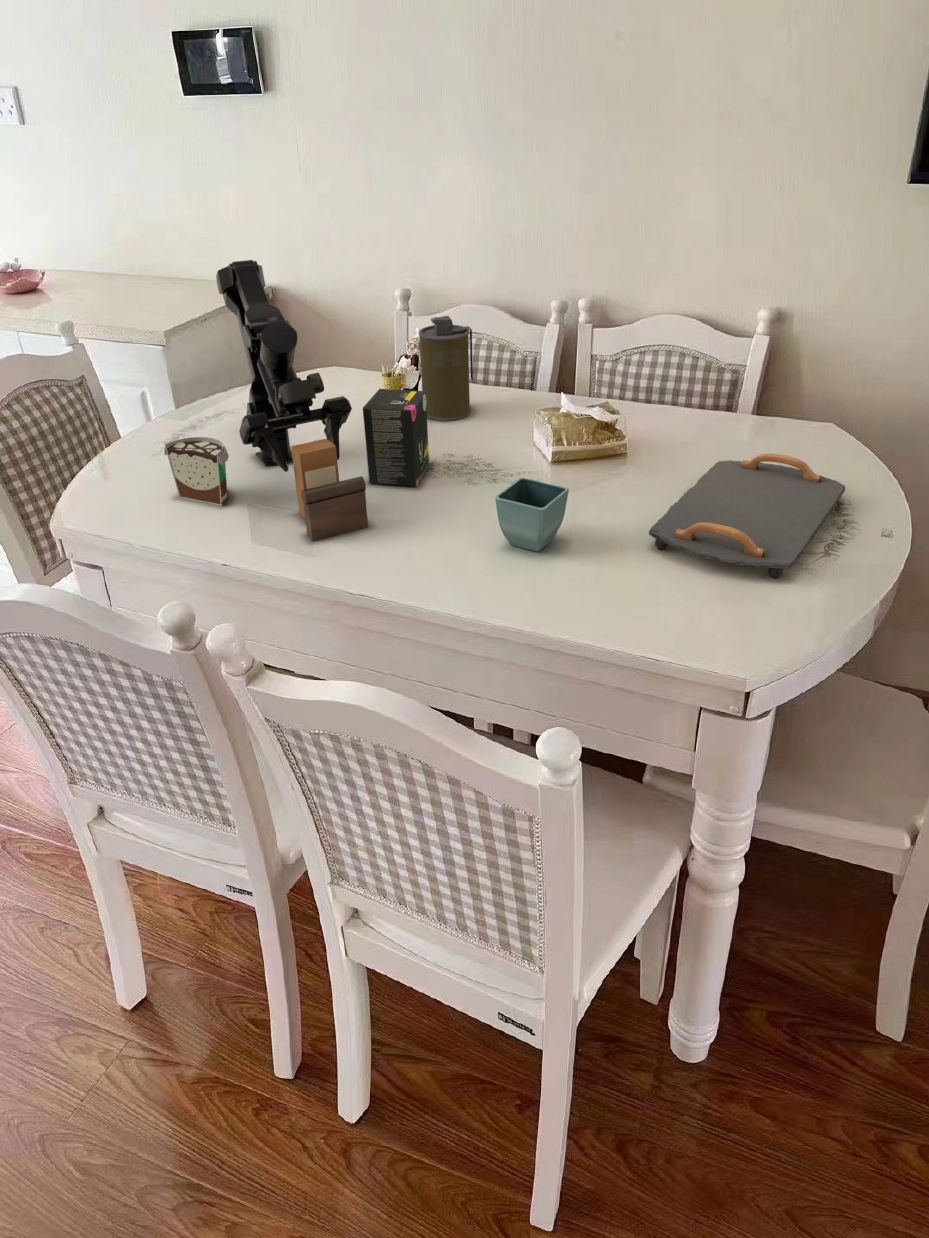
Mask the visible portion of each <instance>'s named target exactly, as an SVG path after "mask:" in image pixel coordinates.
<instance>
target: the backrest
mask: <svg viewBox="0 0 929 1238" xmlns="http://www.w3.org/2000/svg"><path fill="white" fill-rule="evenodd" d="M365 480H366V479H365V478H364V477H363V476H355V477H353V478H349V479H344V480H339V482H335V483H331V484H327V485H323V486H319V487H314V488H310V489H306V490H302V491H301V497H302V501H303V505H304V513H305V519H304V521H305V528H306V535H307V537H308V538H309V539H310V541H312V542H316V541H320V540H324V539H327V538H331V537H335V536H338V535H343V534H346V533H350V532H354V531H358V530H361V529H365V528H368V527H369V518H368V508H367V506H368V505H367V497H366V490H367V483H366V481H365Z"/></svg>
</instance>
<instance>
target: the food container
mask: <svg viewBox="0 0 929 1238" xmlns="http://www.w3.org/2000/svg"><path fill="white" fill-rule="evenodd" d="M163 451H164V452H163V453H164V456H167V459H168V462H169V466H170V470H171V473H172V477H173V480H174V482H175V483H174V484H175V487H176V491H177V494H178V498H179V499H185V500H189V501H193V502H194V501H195V502H199V503H204V504H208V505H214V506H218V507H223V506H224V505H225V504H226V503H227V501H228V500H229V498H228V484H227V467H226V463H227V461H228V460H229V456H230V455H229V452H228V450H227V448H226V446H225V445H224V443H223V442H222V441H221V440H219V439H217V438H214V437H207V436H191V437H185V438H184V437H183V438H179V439H176V440H172V441H170V442H167V443H165V444H164V448H163Z"/></svg>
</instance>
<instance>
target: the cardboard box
mask: <svg viewBox="0 0 929 1238" xmlns="http://www.w3.org/2000/svg"><path fill="white" fill-rule="evenodd" d="M290 450H291V451H292V459H293V460H292V466H293V473H294V481H295V488H296V489H295V490H296V496H297V497H296V498H297V504H298V512H299V515H300V516H301V517H302V519H304V520H305V513H304V505H303V501H302V497H301V491H302V490H306V489H310V488H314V487H319V486H323V485H327V484H331V483H335V482H340V475H339V473H340V472H339V464H338V460H337V453H336V446H335V445H334V444H333V443H331V442H330V441H329V440H328V439H327V438H323V439H318V440H314V441H313V440H312V441H309V442H304V443H300V444H295V445H290Z"/></svg>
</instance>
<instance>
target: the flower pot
mask: <svg viewBox="0 0 929 1238" xmlns="http://www.w3.org/2000/svg"><path fill="white" fill-rule="evenodd" d="M569 492H570V488H568V487H566V486H561V485H557V484H553V483H548V482H545V481H540V480H535V479H531V478H529V477H528V478H527V477H519V478H517V479H516V480H515V481H513V482H512V483H511V484H510V485H509V486H507V487H506V488H505V489H504V490H502V491H500V493H498V494H496V496H495V497H494V500H495V507H496V514H497V520H498V524H499V528H500V530H501V533H502V535H503V536H504V538H505V539H506V540H507V541H508V543H509V544H510V545H511V546H514V547H518V548H522V549H526V550H528V551H533V552H540V551H541V550H542V549H544V547H545V546H546V545H548V544H549V543H550V542H551V541H552V540H553V539H554V537H555V536H556V535H557V533H558V532H559V530H560V528H561V525H562V523H563V521H564V518H565V515H566V508H567V502H568V498H569Z"/></svg>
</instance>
